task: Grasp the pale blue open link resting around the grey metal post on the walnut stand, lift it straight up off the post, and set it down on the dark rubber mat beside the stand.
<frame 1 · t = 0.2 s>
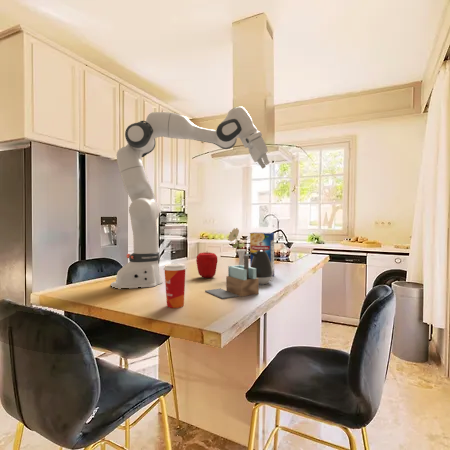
hand: (265, 166, 146), 54 cm above the countertop, tool tilted 30°, fingers open, 8 cm apart
c link: (242, 277, 125), point 6 cm above the countertop, touching stand
stand: (242, 292, 126), on the countertop
paper cup: (175, 306, 107), on the countertop
mat: (221, 294, 123), on the countertop
flower in vase: (240, 277, 157), on the countertop
apple: (207, 278, 158), on the countertop
pump dispenser: (260, 283, 143), on the countertop
beverage box: (262, 275, 163), on the countertop
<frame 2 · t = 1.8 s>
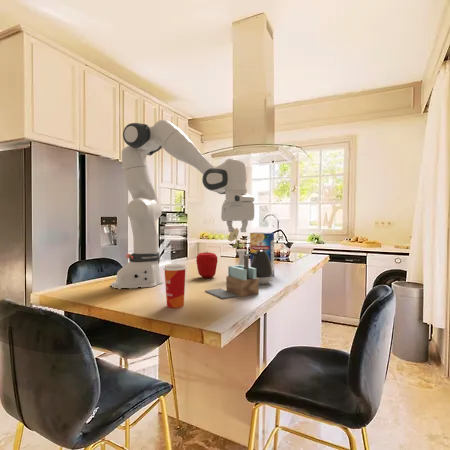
hand: (237, 232, 130), 24 cm above the countertop, tool pointing down, fingers open, 8 cm apart
nothing on the countertop moved.
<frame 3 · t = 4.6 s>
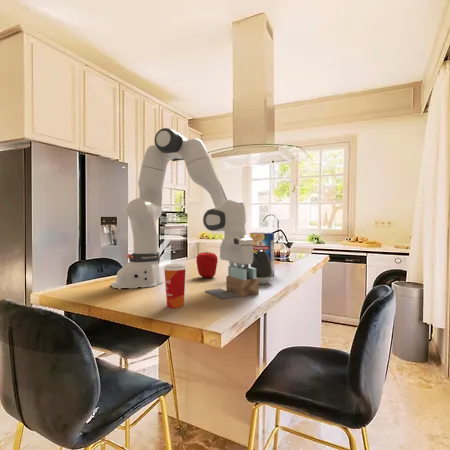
hand: (235, 272, 130), 7 cm above the countertop, tool pointing down, fingers closed on c link
c link: (242, 277, 125), point 6 cm above the countertop, touching gripper, stand
everything else where it was.
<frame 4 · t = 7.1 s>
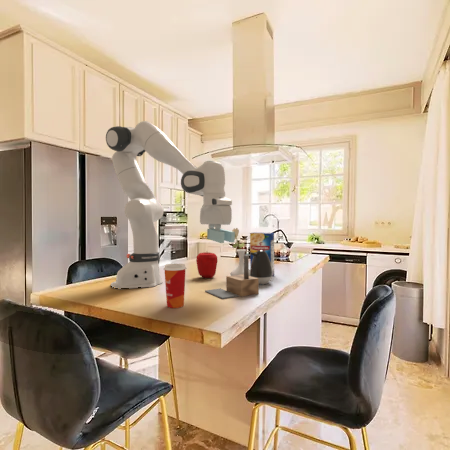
hand: (214, 235, 127), 23 cm above the countertop, tool pointing down, fingers closed on c link
c link: (220, 240, 123), point 21 cm above the countertop, tilted 6°, touching gripper
everything else where it was.
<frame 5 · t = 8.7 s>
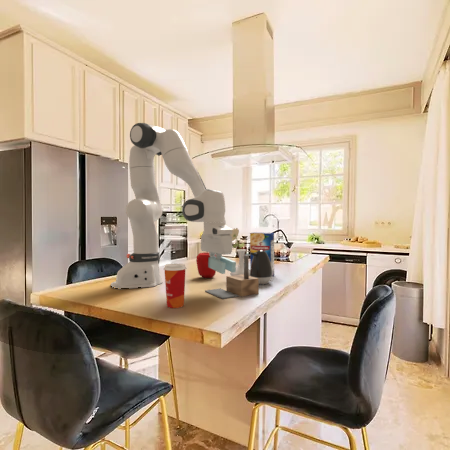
hand: (215, 263, 127), 11 cm above the countertop, tool pointing down, fingers closed on c link
c link: (221, 269, 123), point 10 cm above the countertop, tilted 6°, touching gripper
everything else where it was.
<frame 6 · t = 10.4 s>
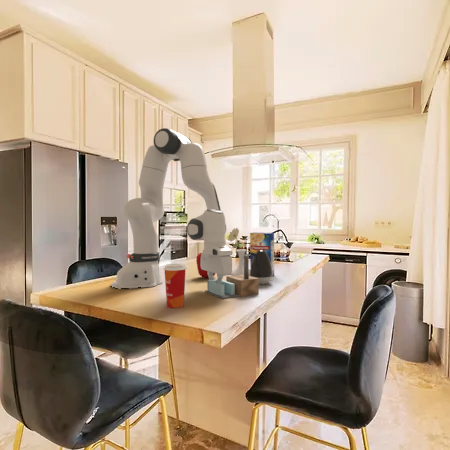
hand: (215, 283, 127), 3 cm above the countertop, tool pointing down, fingers open, 4 cm apart
c link: (220, 292, 123), resting on mat
everything else where it was.
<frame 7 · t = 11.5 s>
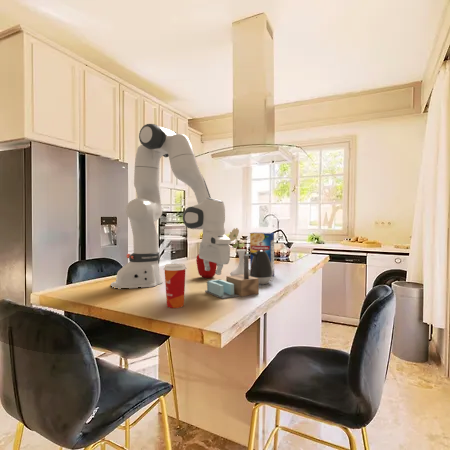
hand: (212, 272, 127), 8 cm above the countertop, tool pointing down, fingers open, 8 cm apart
nothing on the countertop moved.
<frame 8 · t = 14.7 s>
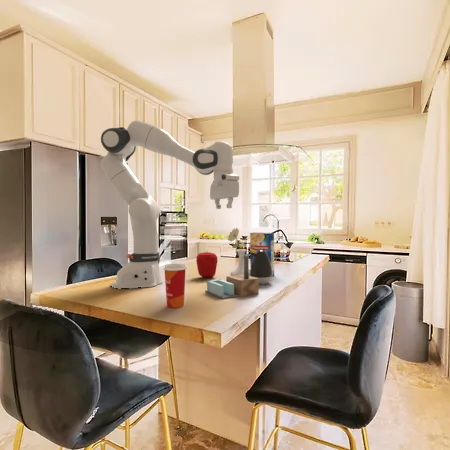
hand: (223, 208, 143), 34 cm above the countertop, tool pointing down, fingers open, 8 cm apart
nothing on the countertop moved.
at the end: c link inside the target area (0.5 cm from its centre), point 0.5 cm above the countertop; c link touching mat; the gripper is holding nothing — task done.
